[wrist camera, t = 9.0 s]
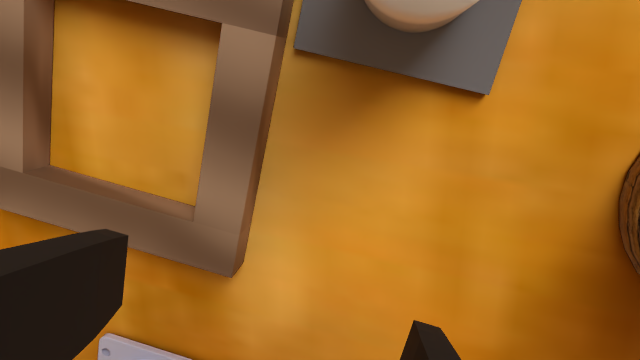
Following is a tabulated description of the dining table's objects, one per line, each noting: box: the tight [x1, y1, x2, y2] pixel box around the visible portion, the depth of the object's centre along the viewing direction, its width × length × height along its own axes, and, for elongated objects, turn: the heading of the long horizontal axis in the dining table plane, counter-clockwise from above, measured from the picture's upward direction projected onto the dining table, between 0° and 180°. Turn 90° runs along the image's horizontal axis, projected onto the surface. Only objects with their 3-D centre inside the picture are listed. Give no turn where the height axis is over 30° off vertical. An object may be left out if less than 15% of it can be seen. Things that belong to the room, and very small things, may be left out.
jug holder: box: [0, 0, 294, 278], centre depth 18 cm, size 13×13×2 cm
